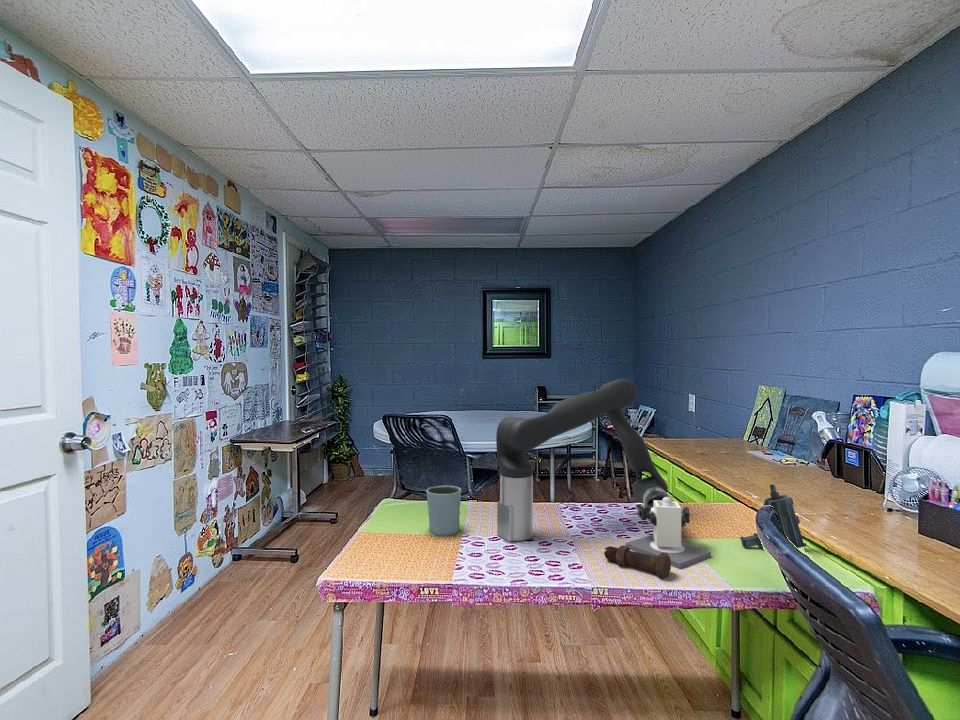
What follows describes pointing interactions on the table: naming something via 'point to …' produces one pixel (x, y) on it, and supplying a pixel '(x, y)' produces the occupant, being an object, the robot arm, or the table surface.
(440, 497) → the drinking glass
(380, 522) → the table surface
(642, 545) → the post stand
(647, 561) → the bolt
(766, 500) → the gun
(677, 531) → the collar
